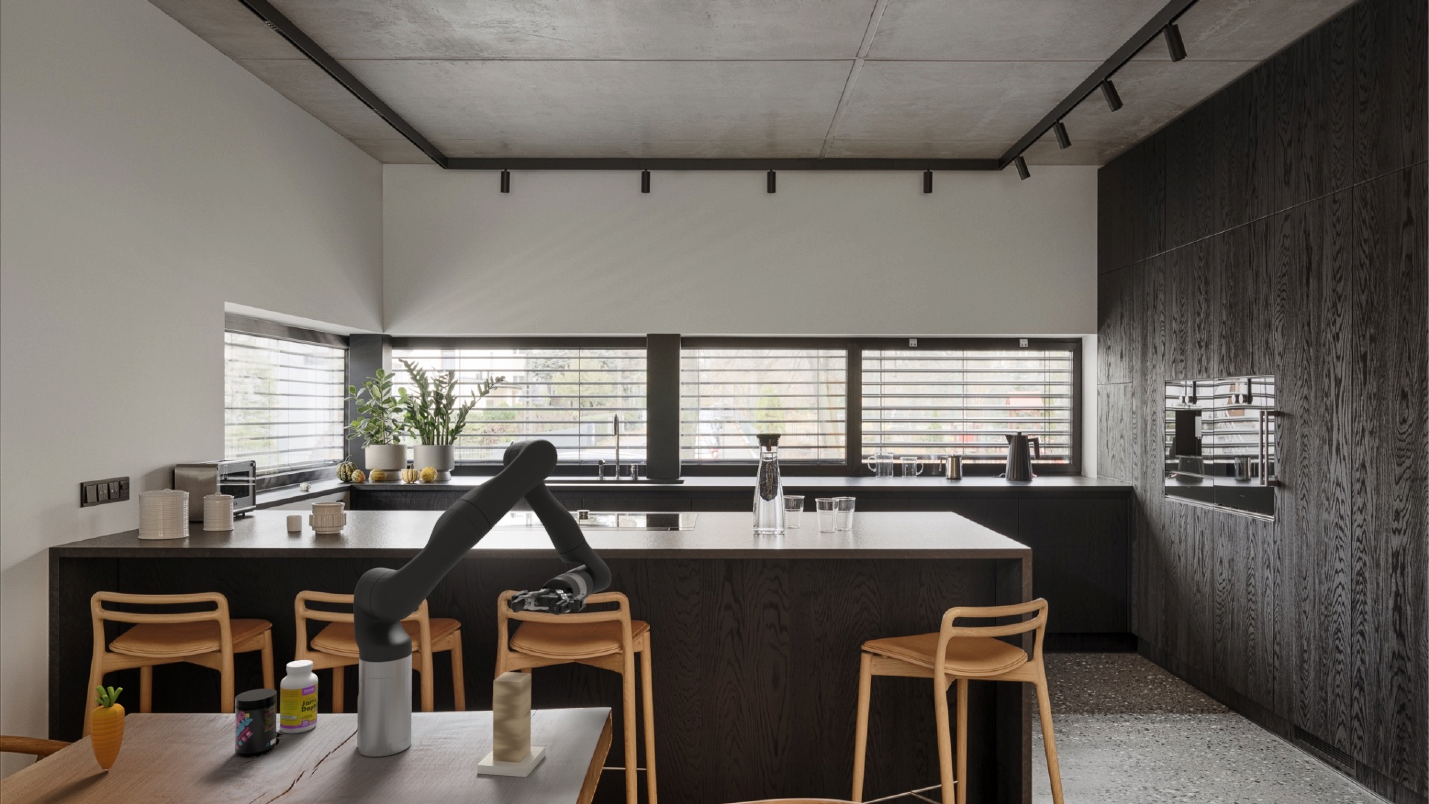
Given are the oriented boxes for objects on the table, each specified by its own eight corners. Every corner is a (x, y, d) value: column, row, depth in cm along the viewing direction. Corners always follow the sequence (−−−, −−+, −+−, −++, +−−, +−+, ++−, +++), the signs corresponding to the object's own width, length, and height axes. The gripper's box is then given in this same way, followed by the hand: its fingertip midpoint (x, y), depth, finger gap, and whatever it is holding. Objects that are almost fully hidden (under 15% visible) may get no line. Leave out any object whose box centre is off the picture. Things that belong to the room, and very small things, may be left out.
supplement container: (241, 745, 152) (242, 690, 152) (280, 742, 154) (281, 687, 154) (228, 760, 146) (229, 702, 146) (270, 757, 147) (270, 699, 147)
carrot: (131, 767, 143) (132, 682, 143) (101, 779, 138) (103, 691, 138) (111, 763, 144) (112, 679, 144) (81, 775, 140) (83, 688, 140)
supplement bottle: (301, 736, 157) (302, 669, 157) (271, 733, 158) (272, 667, 158) (324, 723, 163) (325, 659, 163) (296, 720, 165) (296, 657, 165)
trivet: (477, 773, 141) (477, 764, 141) (498, 752, 149) (498, 744, 150) (526, 777, 139) (526, 768, 139) (545, 755, 148) (545, 747, 148)
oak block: (492, 760, 142) (493, 680, 143) (504, 749, 147) (505, 671, 148) (519, 762, 142) (520, 682, 142) (530, 750, 147) (531, 673, 147)
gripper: (532, 573, 173) (501, 587, 157) (597, 576, 171) (571, 590, 155) (531, 608, 173) (500, 626, 157) (596, 612, 170) (570, 630, 154)
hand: (535, 608), depth 156 cm, fingers open, 8 cm apart
